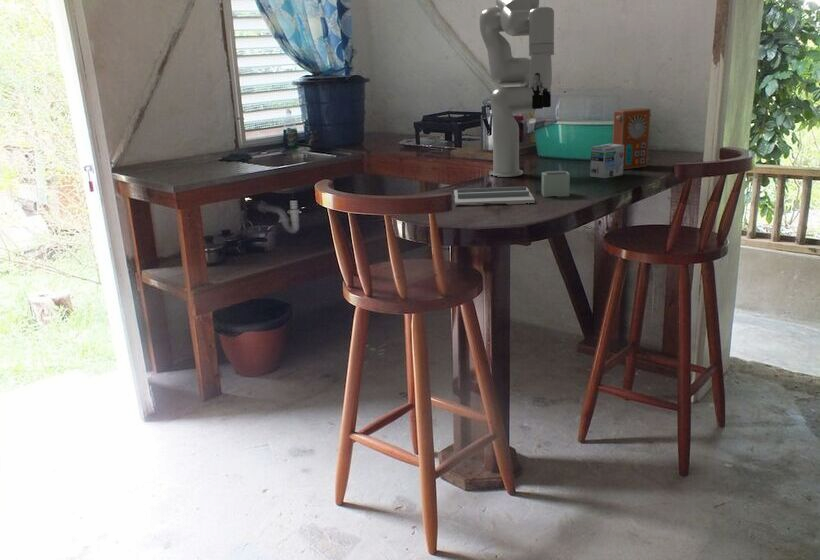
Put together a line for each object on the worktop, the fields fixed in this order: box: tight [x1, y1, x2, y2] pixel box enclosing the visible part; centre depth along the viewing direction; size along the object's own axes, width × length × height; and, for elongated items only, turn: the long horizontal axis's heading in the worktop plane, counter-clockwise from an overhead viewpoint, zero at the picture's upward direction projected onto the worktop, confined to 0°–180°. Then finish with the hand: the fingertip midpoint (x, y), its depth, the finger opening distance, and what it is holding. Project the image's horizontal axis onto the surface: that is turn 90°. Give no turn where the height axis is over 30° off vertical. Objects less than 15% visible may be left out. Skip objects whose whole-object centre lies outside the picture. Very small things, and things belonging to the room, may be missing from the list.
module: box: [540, 170, 571, 198], centre depth 219 cm, size 5×8×7 cm, turn 87°
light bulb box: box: [589, 143, 624, 179], centre depth 246 cm, size 11×7×11 cm, turn 126°
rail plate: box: [453, 185, 536, 205], centre depth 219 cm, size 20×24×3 cm
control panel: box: [612, 107, 652, 170], centre depth 259 cm, size 21×7×15 cm
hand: (541, 108), depth 216 cm, fingers open, 9 cm apart
